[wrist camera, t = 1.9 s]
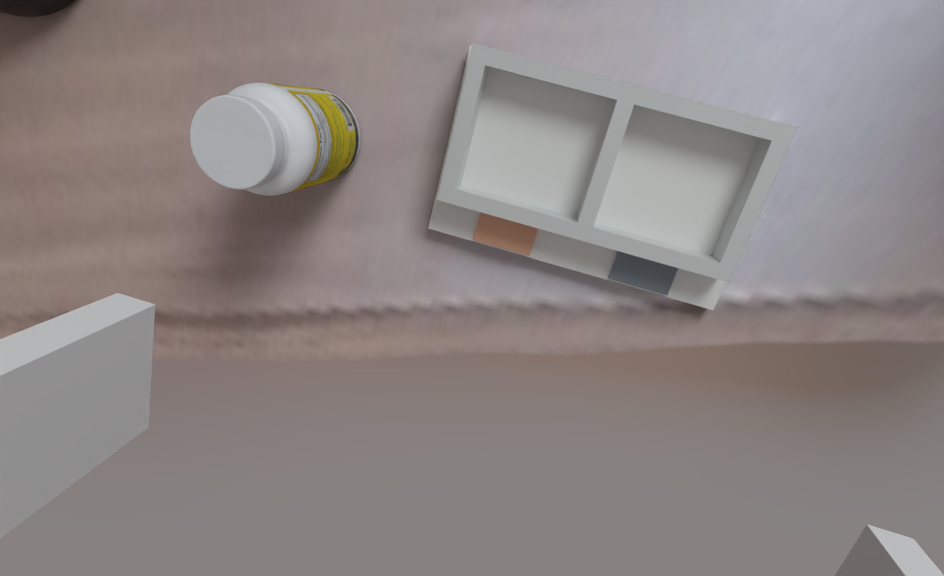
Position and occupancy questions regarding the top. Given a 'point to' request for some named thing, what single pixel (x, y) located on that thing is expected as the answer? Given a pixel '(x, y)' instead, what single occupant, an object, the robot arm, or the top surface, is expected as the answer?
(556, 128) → the socket board
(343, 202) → the top surface
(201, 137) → the pill bottle
